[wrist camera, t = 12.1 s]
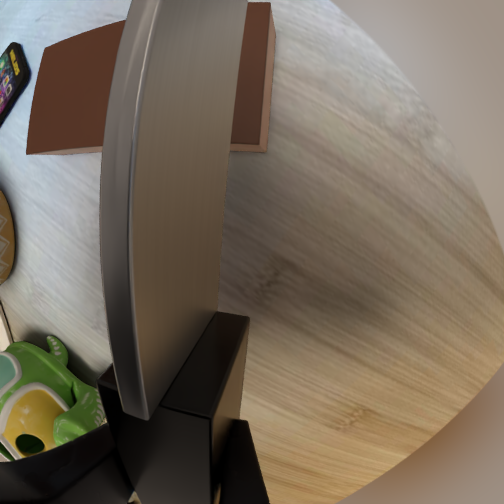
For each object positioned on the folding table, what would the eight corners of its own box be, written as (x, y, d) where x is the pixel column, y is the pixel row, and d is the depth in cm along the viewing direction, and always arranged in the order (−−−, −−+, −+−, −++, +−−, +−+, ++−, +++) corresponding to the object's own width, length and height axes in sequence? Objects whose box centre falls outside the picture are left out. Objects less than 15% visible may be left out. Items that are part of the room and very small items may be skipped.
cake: (162, 41, 15) (135, 16, 11) (147, 150, 17) (112, 145, 13) (76, 60, 16) (44, 48, 12) (62, 155, 18) (25, 154, 14)
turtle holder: (164, 432, 23) (115, 526, 12) (53, 415, 27) (4, 468, 15) (107, 322, 21) (6, 408, 9) (8, 331, 24) (-59, 376, 13)
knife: (235, 457, 10) (209, 545, 6) (179, 444, 10) (141, 525, 6) (282, 1, 6) (260, -113, 1) (199, 4, 6) (129, -88, 2)
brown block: (275, 34, 14) (270, 2, 11) (266, 152, 16) (258, 144, 13) (221, 35, 15) (203, 4, 11) (208, 149, 17) (184, 142, 13)
